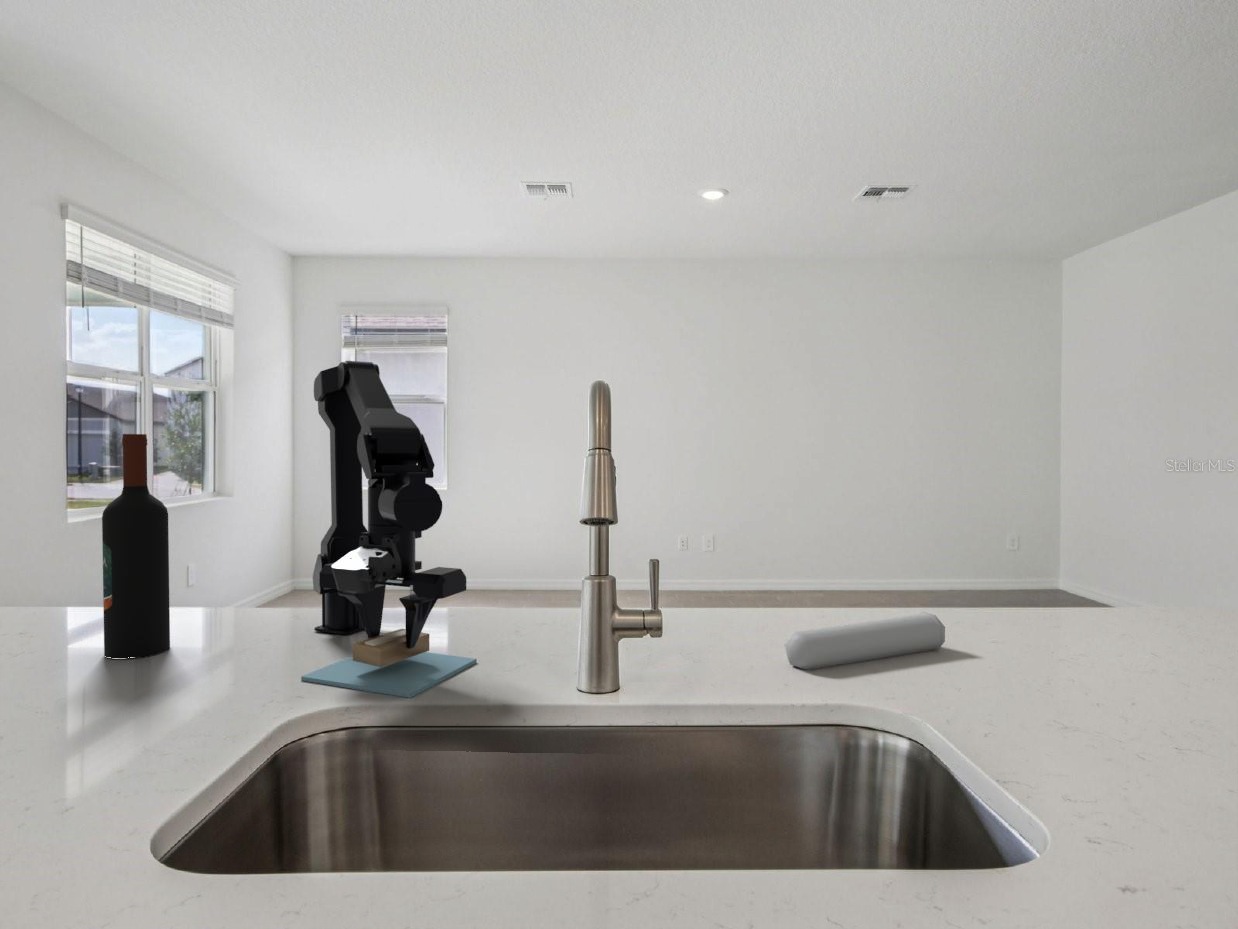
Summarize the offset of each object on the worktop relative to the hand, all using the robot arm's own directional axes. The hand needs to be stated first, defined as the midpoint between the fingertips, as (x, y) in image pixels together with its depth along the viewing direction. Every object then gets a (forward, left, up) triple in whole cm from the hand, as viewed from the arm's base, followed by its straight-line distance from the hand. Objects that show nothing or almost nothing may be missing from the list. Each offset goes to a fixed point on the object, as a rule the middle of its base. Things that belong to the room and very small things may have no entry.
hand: (392, 645), depth 90 cm
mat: (0, 0, -3) cm, 3 cm away
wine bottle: (-38, -6, -4) cm, 39 cm away
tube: (+56, +29, -4) cm, 63 cm away
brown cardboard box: (0, 0, -1) cm, 1 cm away
